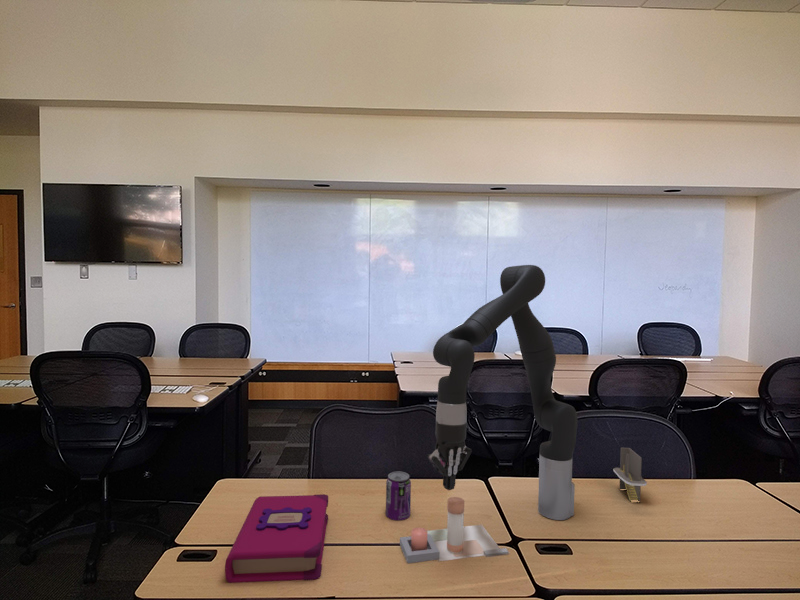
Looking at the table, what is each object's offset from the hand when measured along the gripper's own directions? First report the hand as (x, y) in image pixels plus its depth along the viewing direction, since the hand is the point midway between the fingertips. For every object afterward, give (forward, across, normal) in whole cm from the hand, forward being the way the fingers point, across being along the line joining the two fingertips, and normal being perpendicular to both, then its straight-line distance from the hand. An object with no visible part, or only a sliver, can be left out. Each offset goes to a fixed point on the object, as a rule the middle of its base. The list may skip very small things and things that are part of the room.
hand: (448, 488), depth 113 cm
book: (+18, +33, -26) cm, 45 cm away
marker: (+16, -3, 0) cm, 16 cm away
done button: (+15, +6, -4) cm, 17 cm away
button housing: (+17, +6, -4) cm, 18 cm away
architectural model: (+16, -70, +6) cm, 72 cm away
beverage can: (+17, 0, -22) cm, 28 cm away
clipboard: (+17, -6, -2) cm, 18 cm away
